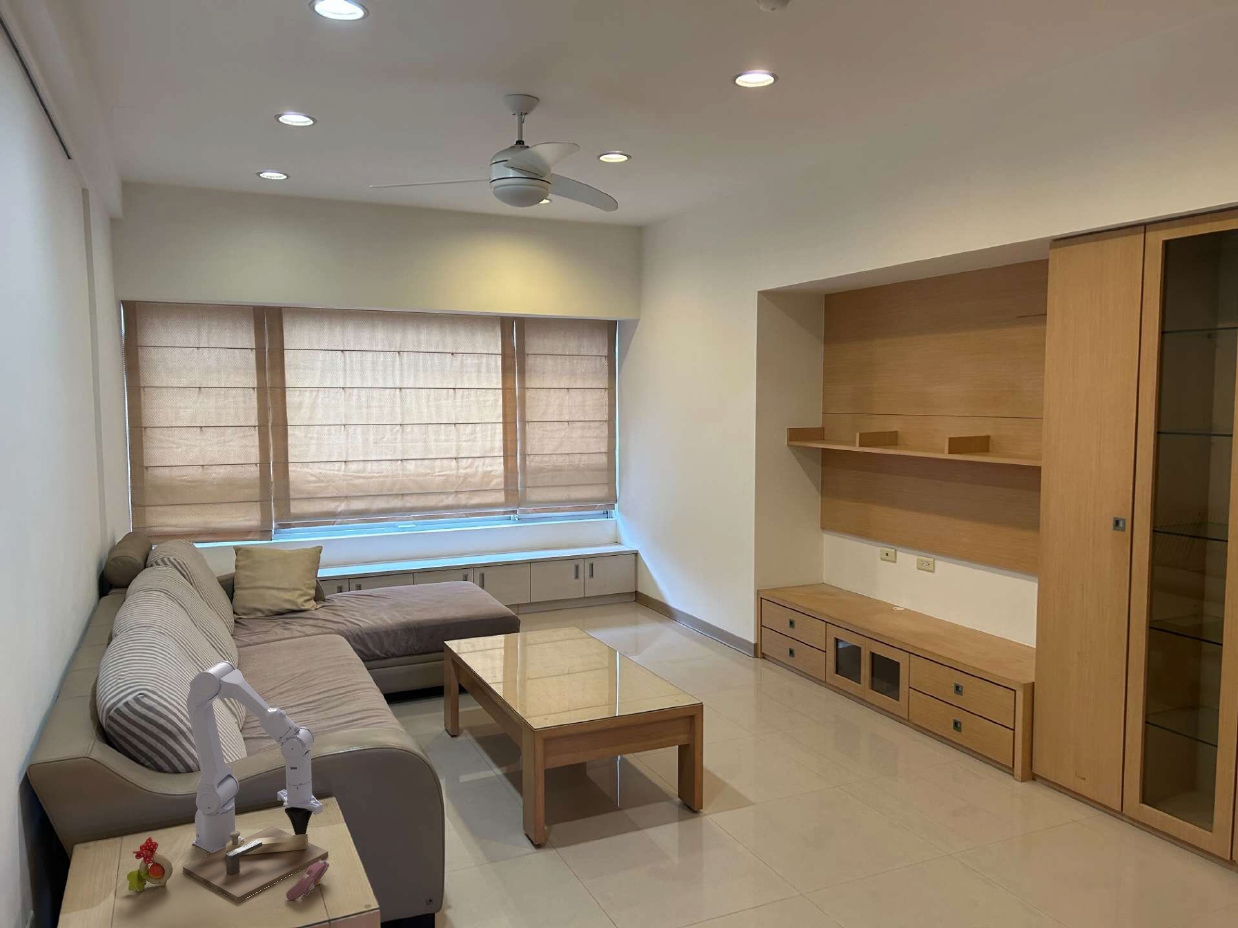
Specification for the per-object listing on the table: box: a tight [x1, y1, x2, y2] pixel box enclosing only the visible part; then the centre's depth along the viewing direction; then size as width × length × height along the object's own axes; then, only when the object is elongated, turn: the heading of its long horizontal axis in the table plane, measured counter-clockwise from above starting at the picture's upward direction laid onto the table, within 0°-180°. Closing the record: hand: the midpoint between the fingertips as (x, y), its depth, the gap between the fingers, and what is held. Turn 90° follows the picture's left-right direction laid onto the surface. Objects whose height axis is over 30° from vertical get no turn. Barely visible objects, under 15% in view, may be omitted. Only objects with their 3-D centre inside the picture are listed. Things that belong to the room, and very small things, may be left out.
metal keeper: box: [226, 839, 262, 876], centre depth 201 cm, size 2×8×5 cm, turn 145°
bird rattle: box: [126, 836, 174, 893], centre depth 195 cm, size 6×11×9 cm
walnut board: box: [182, 825, 329, 903], centre depth 205 cm, size 22×23×1 cm
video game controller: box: [285, 860, 330, 901], centre depth 194 cm, size 10×5×7 cm, turn 169°
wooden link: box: [226, 830, 309, 855], centre depth 208 cm, size 18×4×5 cm, turn 100°
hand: (300, 834), depth 213 cm, fingers closed
